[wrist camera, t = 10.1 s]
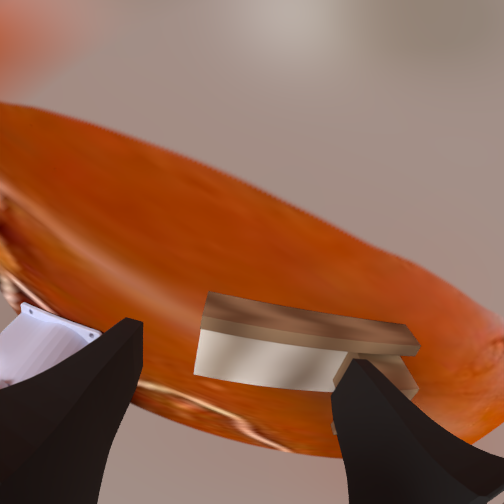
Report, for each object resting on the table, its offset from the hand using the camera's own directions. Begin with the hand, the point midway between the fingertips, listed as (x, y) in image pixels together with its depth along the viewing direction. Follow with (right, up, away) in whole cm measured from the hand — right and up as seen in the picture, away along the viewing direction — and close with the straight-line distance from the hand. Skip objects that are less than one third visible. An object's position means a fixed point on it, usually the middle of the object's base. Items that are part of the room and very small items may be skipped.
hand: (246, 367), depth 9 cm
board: (+4, -4, +12) cm, 13 cm away
